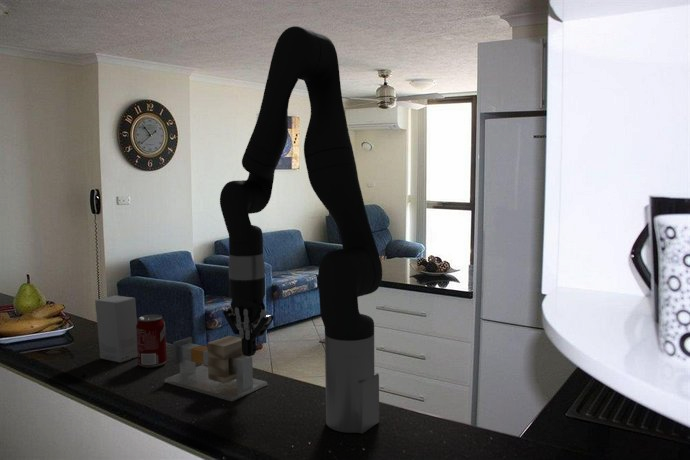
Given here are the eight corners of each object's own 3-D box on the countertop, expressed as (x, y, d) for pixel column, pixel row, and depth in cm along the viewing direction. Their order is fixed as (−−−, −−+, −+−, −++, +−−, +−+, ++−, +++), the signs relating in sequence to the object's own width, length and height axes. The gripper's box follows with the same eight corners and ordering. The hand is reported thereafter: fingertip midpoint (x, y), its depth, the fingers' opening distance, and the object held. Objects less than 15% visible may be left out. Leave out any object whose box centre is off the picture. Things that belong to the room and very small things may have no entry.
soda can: (158, 370, 143) (156, 321, 142) (132, 368, 145) (130, 320, 144) (171, 361, 150) (169, 314, 149) (147, 359, 151) (145, 313, 150)
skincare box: (140, 356, 154) (137, 297, 152) (118, 364, 148) (115, 302, 147) (119, 351, 158) (116, 294, 157) (97, 358, 153) (94, 299, 151)
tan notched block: (247, 374, 133) (245, 338, 132) (224, 383, 127) (223, 346, 126) (230, 370, 136) (229, 335, 135) (208, 379, 130) (207, 342, 129)
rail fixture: (267, 385, 133) (266, 348, 132) (231, 401, 123) (230, 361, 123) (200, 368, 144) (199, 334, 144) (163, 381, 135) (162, 345, 134)
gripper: (282, 275, 125) (284, 355, 127) (236, 269, 132) (238, 345, 134) (258, 281, 119) (260, 365, 120) (211, 275, 126) (214, 354, 128)
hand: (248, 355), depth 127 cm, fingers closed
